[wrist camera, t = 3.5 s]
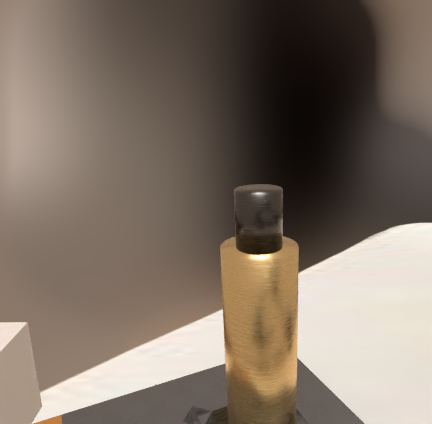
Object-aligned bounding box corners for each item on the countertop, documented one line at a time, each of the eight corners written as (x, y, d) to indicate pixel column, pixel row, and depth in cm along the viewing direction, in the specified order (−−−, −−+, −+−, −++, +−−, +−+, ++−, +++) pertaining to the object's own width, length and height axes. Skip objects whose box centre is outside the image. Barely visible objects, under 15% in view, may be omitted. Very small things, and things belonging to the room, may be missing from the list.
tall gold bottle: (309, 488, 24) (316, 191, 19) (248, 517, 22) (240, 203, 17) (273, 438, 27) (272, 178, 22) (220, 460, 26) (205, 187, 21)
